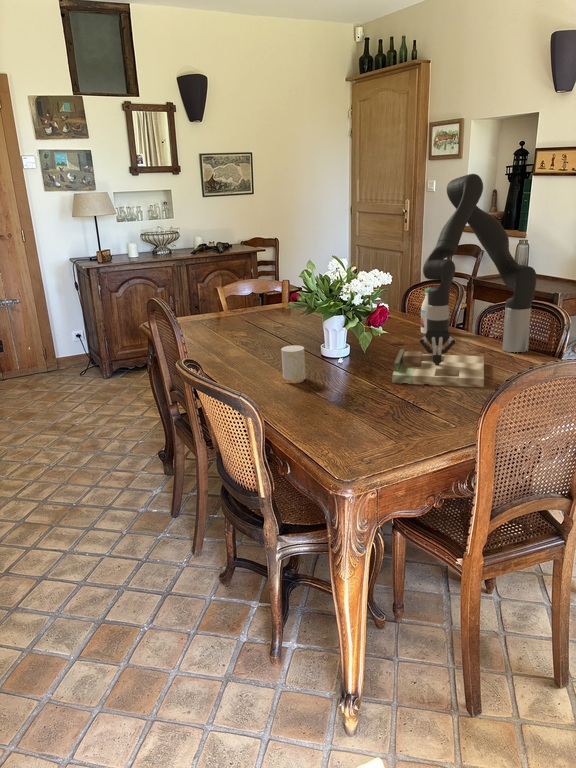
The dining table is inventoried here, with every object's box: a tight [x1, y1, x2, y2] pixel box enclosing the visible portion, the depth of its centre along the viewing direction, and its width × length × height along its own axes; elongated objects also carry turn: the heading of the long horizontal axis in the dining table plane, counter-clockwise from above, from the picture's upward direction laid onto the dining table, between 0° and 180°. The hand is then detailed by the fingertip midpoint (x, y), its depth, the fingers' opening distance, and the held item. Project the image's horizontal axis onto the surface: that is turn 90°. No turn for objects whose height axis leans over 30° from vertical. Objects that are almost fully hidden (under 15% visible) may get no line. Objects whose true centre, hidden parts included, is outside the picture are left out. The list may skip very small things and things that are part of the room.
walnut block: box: [403, 350, 423, 367], centre depth 209 cm, size 6×6×4 cm
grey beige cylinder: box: [280, 344, 307, 381], centre depth 208 cm, size 8×8×12 cm
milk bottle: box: [420, 287, 431, 335], centre depth 259 cm, size 8×8×20 cm
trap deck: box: [391, 348, 485, 388], centre depth 207 cm, size 30×26×6 cm
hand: (437, 364), depth 208 cm, fingers closed
